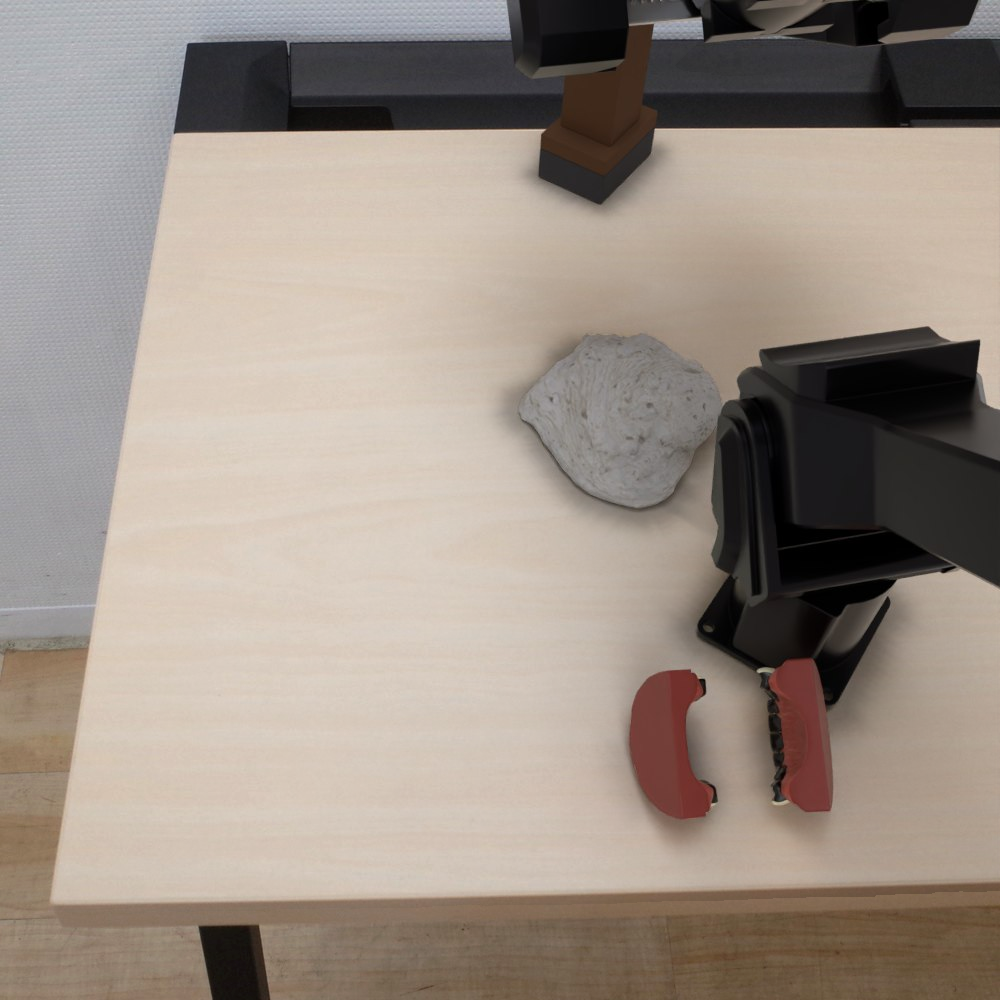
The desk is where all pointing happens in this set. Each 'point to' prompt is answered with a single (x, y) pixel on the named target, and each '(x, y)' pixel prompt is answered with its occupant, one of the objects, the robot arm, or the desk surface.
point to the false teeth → (796, 747)
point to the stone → (624, 416)
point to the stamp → (602, 125)
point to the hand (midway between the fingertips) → (675, 29)
